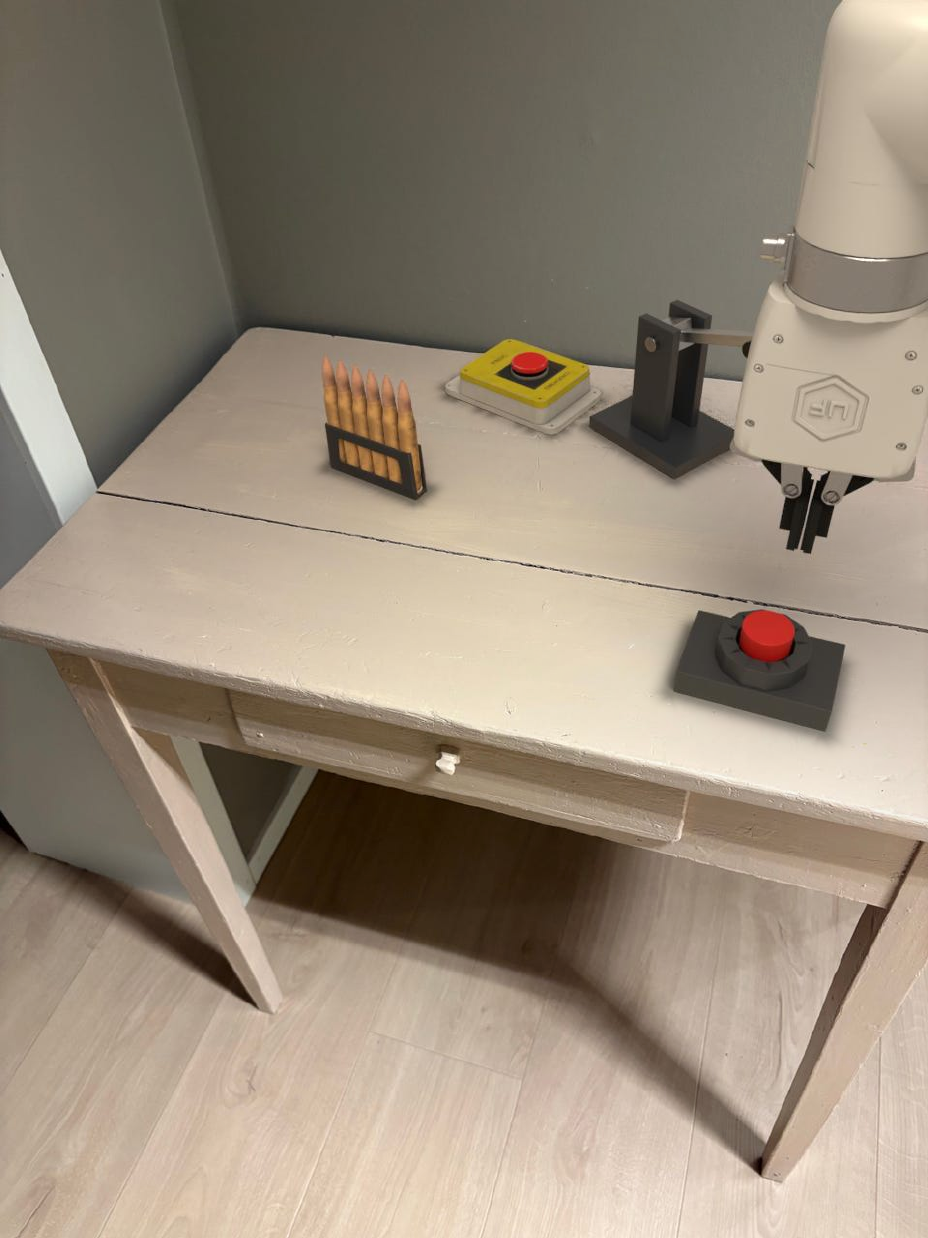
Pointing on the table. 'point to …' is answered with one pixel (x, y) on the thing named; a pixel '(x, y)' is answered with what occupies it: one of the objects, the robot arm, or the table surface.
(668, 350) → the lever stand
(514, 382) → the emergency button
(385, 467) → the ammunition clip
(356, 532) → the table surface
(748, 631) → the red button
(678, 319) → the tap lever
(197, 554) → the table surface
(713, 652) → the button block
